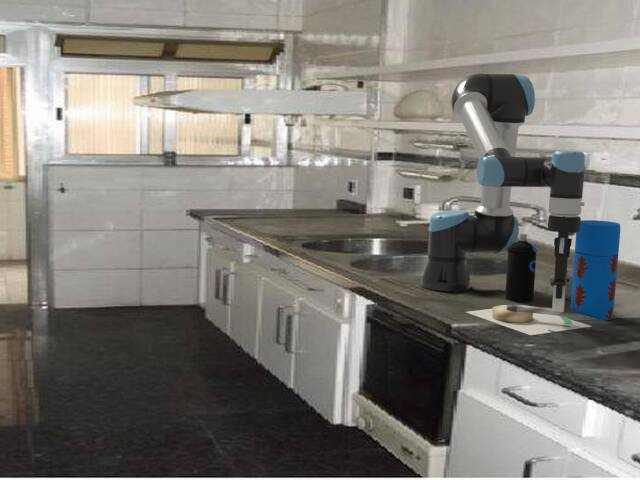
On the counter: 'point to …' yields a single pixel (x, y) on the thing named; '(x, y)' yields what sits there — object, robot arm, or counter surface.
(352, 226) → the counter surface
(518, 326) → the scale board
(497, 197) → the robot arm
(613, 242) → the thermos
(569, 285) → the teacup
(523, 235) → the aerosol can
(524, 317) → the crank
